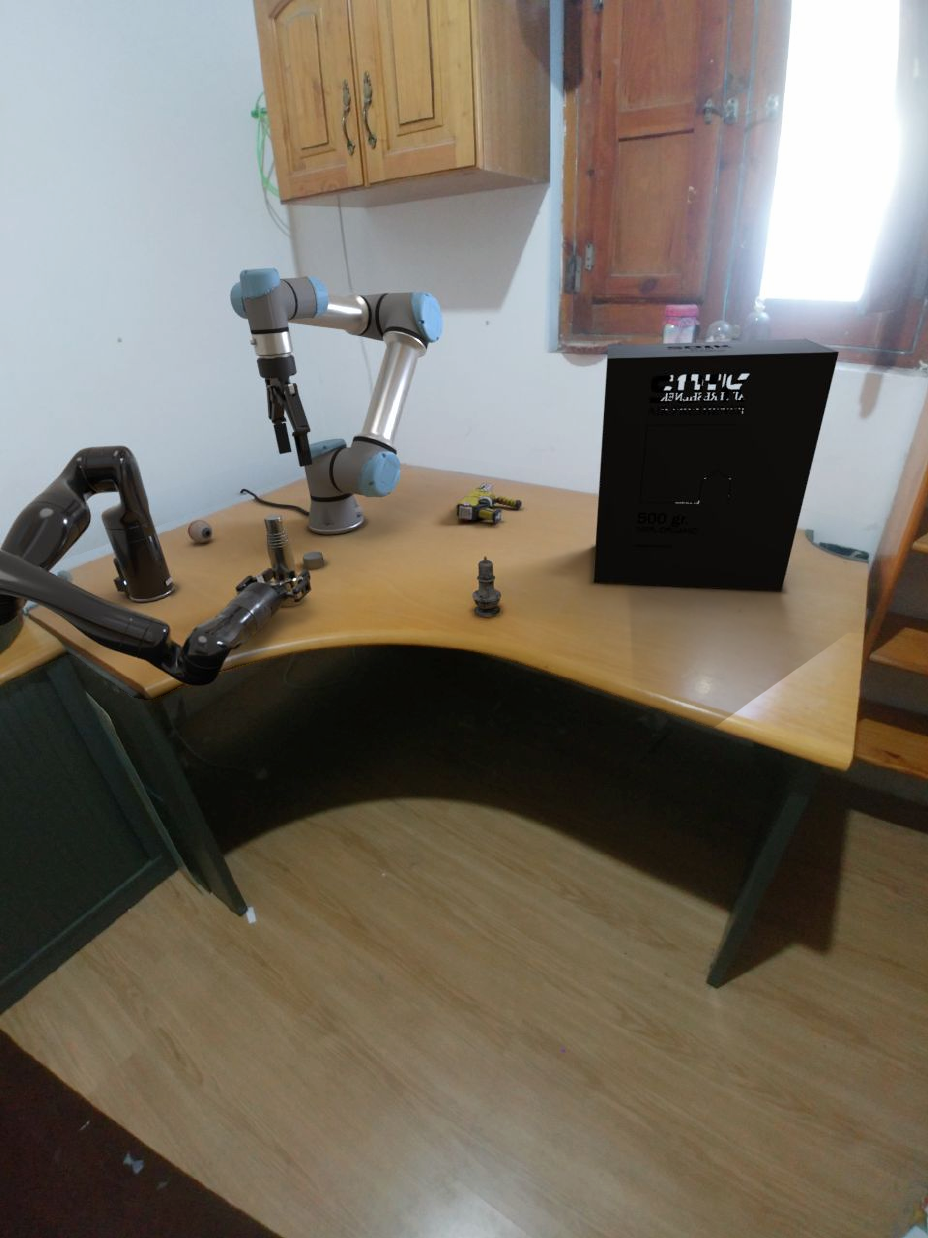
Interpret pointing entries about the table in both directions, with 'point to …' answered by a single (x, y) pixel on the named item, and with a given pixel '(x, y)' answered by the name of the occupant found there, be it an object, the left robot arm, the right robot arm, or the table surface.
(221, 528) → the table surface
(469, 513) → the toy gun
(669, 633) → the table surface
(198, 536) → the eyeball
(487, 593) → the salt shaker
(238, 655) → the table surface
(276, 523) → the bottle
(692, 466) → the cardboard box
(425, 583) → the table surface
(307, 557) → the cap
